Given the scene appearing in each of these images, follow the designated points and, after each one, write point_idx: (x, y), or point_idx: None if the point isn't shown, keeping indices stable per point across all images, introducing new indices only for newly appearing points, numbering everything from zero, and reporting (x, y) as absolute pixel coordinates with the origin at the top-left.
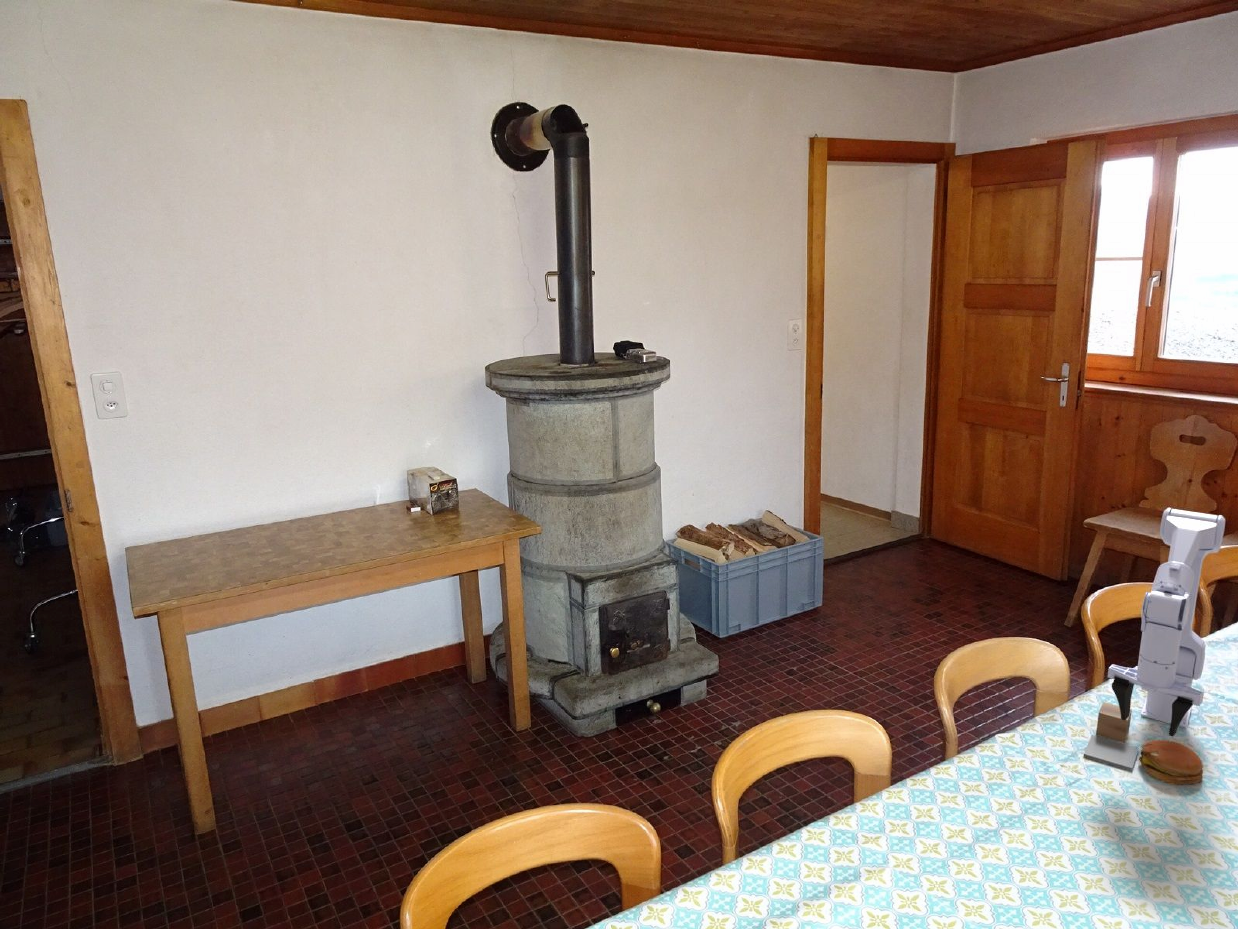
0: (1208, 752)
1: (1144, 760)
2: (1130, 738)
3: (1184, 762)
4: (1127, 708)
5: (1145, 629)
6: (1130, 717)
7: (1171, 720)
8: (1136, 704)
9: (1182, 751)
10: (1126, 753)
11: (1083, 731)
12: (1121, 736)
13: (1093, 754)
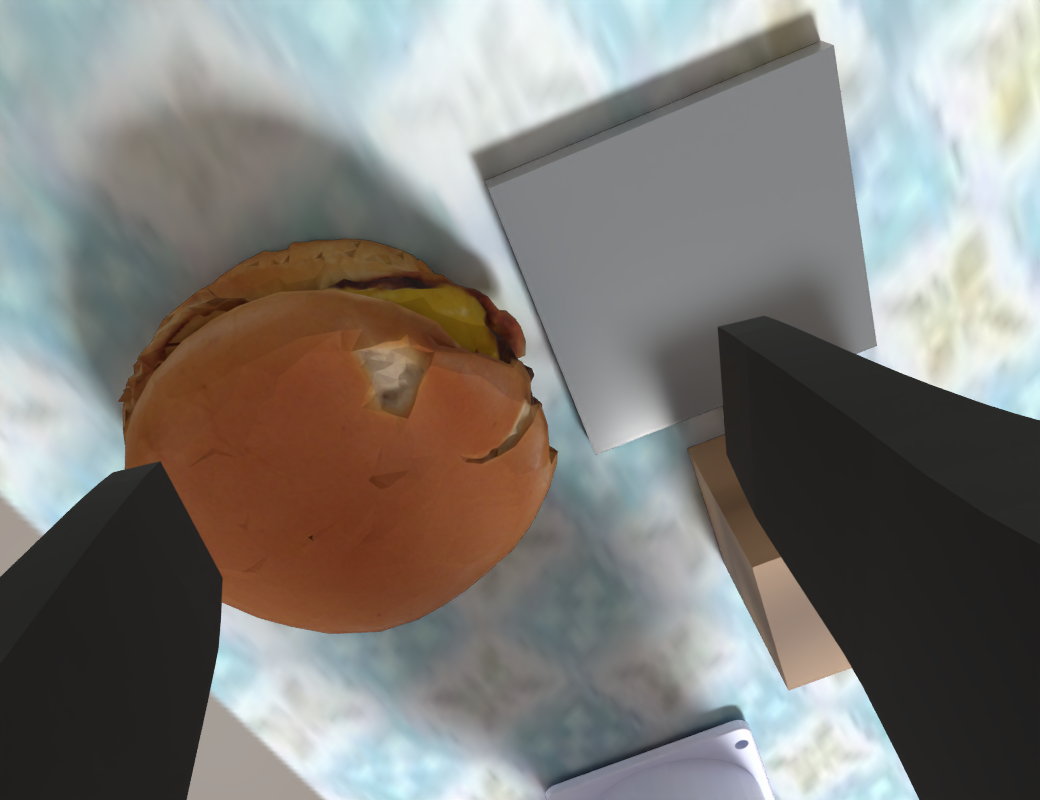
0: (354, 715)
1: (456, 305)
2: (687, 517)
3: (184, 448)
4: (796, 480)
5: None
6: (763, 635)
7: (17, 644)
8: (799, 769)
9: (288, 552)
10: (615, 334)
11: (929, 356)
12: (725, 465)
13: (774, 106)
